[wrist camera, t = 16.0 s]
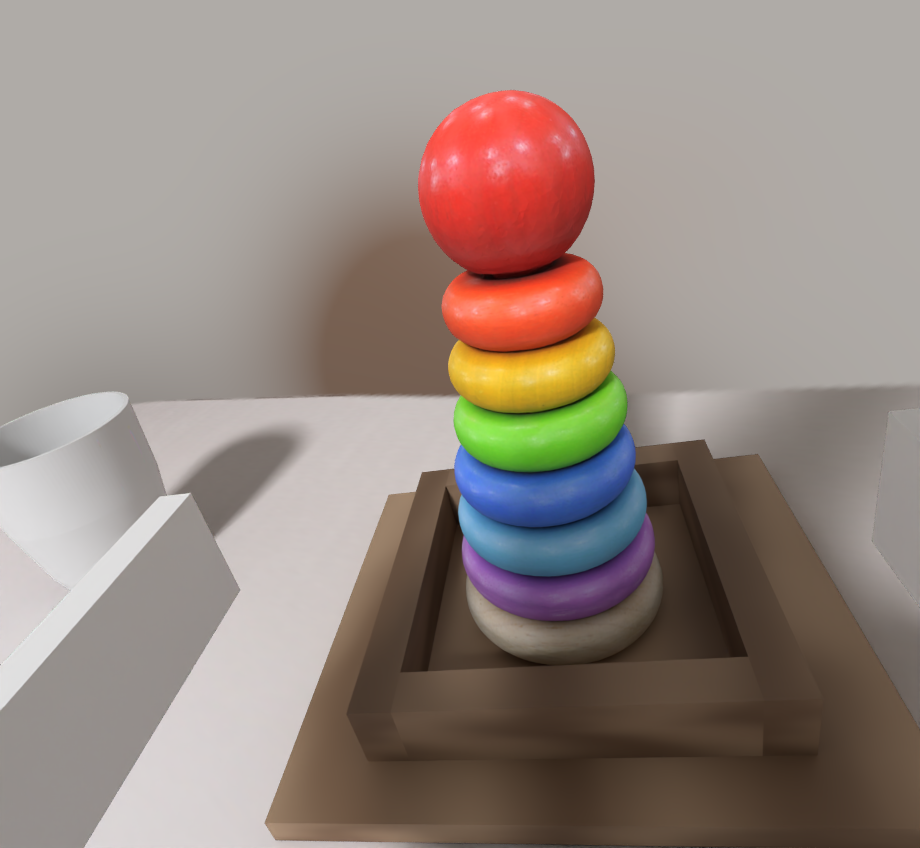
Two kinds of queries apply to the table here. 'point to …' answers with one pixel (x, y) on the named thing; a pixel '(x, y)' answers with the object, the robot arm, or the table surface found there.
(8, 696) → the robot arm
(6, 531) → the cup
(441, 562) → the walnut jig
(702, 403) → the table surface
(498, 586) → the stacking toy
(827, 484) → the table surface
